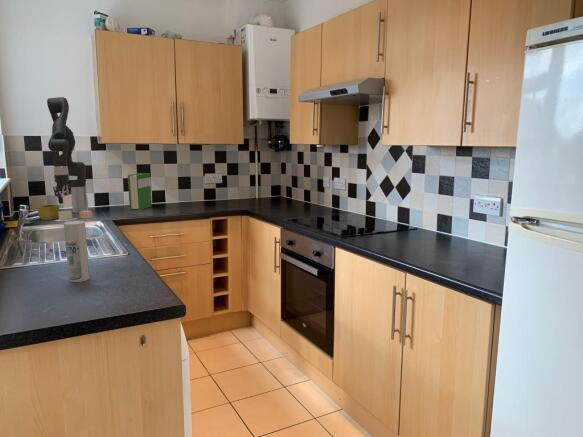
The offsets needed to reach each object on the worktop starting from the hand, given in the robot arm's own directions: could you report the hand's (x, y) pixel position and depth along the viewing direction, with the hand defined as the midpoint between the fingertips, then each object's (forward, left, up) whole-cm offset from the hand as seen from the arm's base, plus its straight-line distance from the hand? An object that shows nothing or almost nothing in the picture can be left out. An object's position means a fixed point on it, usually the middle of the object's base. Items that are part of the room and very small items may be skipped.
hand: (63, 202), depth 260 cm
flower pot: (-1, -11, -11) cm, 16 cm away
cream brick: (0, 0, -1) cm, 1 cm away
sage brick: (0, 0, -10) cm, 10 cm away
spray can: (+103, +74, -11) cm, 127 cm away
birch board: (0, 0, -11) cm, 11 cm away
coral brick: (-8, +8, -11) cm, 16 cm away
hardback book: (-54, +21, -11) cm, 59 cm away
